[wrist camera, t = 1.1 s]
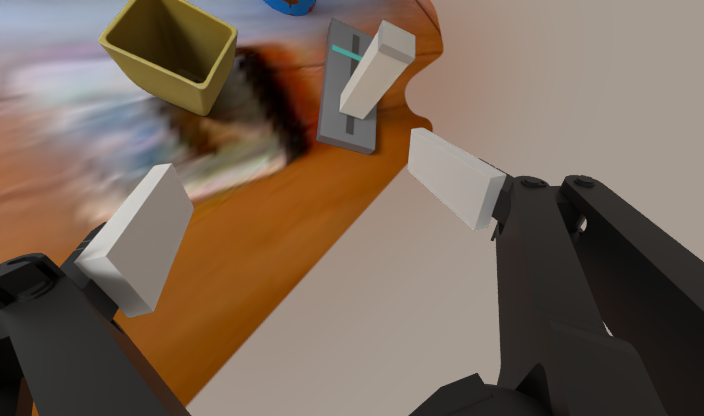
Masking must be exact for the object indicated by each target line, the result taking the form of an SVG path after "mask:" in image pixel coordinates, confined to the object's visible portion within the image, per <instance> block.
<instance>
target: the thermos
mask: <svg viewBox="0 0 704 416" xmlns="http://www.w3.org/2000/svg"><path fill="white" fill-rule="evenodd" d="M264 1H265V2H266V3H267V4H268V5H270V6H271V7H272V8H274V9H276V10H278V11H280V12H282V13H284V14H289V15H293V16H299V15H305V14H307V13H309V12H310V11H312V9H313V7H314V5H315V2H316V0H264Z"/></svg>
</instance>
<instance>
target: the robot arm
mask: <svg viewBox="0 0 704 416" xmlns="http://www.w3.org/2000/svg"><path fill="white" fill-rule="evenodd" d="M408 171H409V172H410V173H411V174H412V175H413V176H414V177H416V178H417V179H418V180H419V181H420V182H421V183H422V184H423V185H424V186H426V187H427V188H428V189H429V190H430V191H431V192H432V193H433V194H434V195H435V196H436V197H437V198H439V199H440V200H441V201H442V202H443V203H444V204H445V205H446V206H447V207H448V208H449V209H451V210H452V211H453V212H454V213H455V214H456V215H457V216H458V217H459V218H461V219H462V220H463V221H464V222H465V223H466V224H467V225H468V226H469V227H470V228H471V229H473V230H474V231H475V230H479V229H483V228H487V227H488V226H489V223H490V220H491V217H493V218H495V219H496V220H497V221H498V222H497V225H496V228H495V231H494V233H493V236H492V238H491V241H494V238H496V256H497V279H498V304H499V326H500V327H499V328H500V351H501V369H500V374H499V378H498V383H497V385H491V384H484V382H483V381H482V379H481V378H480V376H479V375H478V373H475V374H473V375H471V376H468V377H465V378H463V379H460V380H458V381H455V382H453V383H450V384H448V385H445V386H442V387H440V388H439V389H438V390H437V391H436V392H435V393H434V394H433V395H431V396H430V397H429V398H428V399H427V400H426V401H425V402H424V403H422V404H421V405H420V406H419V407H418V408H417V409H416V410H414V412H412V413H411V414H410V415H409V416H667V415H668V416H704V262H703V261H702V260H700V259H699V258H698V257H696V256H695V255H694V254H692V253H691V252H690V251H689V250H687V249H686V248H685V247H684V246H682V245H681V244H680V243H678V242H677V241H676V240H675V239H673V238H672V237H671V236H669V235H668V234H667V233H665V232H664V231H663V230H662V229H660V228H659V227H658V226H657V225H655V224H654V223H653V222H651V221H650V220H649V219H648V218H646V217H645V216H644V215H642V214H641V213H640V212H639V211H637V210H636V209H635V208H633V207H632V206H631V205H630V204H628V203H627V202H626V201H624V200H623V199H622V198H621V197H619V196H618V195H617V194H616V193H614V192H613V191H612V190H610V189H609V188H608V187H607V186H605V185H604V184H603V183H601V182H599V181H598V180H595V179H592V178H591V177H588V176H587V177H586V176H583V175H581V176H578V175H570V176H567V177H565V179H564V181H563V183H562V185H561V186H549V184H548V183H547V182H545V181H543V180H541V179H538V178H535V177H530V176H519V177H516V178H514V177H512V176H510V175H509V174H507V173H505V172H503V171H501V170H500V169H498V168H495V167H494V166H492V165H490V164H489V163H487V162H485V161H483V160H482V159H479V158H476V157H474V156H472V155H471V154H469V153H467V152H465V151H464V150H462V149H460V148H458V147H457V146H454V145H453V144H451V143H449V142H448V141H446V140H444V139H442V138H441V137H439V136H437V135H435V134H433V133H432V132H430V131H428V130H426V129H425V128H416V129H411V139H410V150H409V160H408ZM193 210H194V207H193V205H192V203H191V201H190V199H189V197H188V195H187V193H186V191H185V189H184V187H183V185H182V183H181V181H180V179H179V177H178V175H177V173H176V171H175V169H174V167H173V165H172V163H170V164H163V165H156V166H154V167H153V168H152V169H151V170H150V172H149V173H148V174H147V175H146V176H145V178H144V179H143V180H142V181H141V182H140V184H139V185H138V186H137V187H136V188H135V190H134V191H133V192H132V193H131V194H130V196H129V197H128V198H127V199H126V200H125V202H124V203H123V204H122V205H121V206H120V208H119V209H118V210H117V211H116V212H115V214H114V215H113V216H112V217H111V218H110V220H109V221H108V222H104V223H103V224H101V225H100V226H98V227H97V228H95V229H94V230H93V231H91V232H90V233H89V235H88V236H87V237H86V238H85V239H84V240H83V242H82V243H81V244H80V245H79V246H78V247H77V248H76V249H77V250H75V251H74V252H73V253H72V254H71V255H70V256H69V257H68V258H67V260H66V261H65V262H64V263H63V264H62V265H61V266H60V268H59V267H58V266H57V265H56V264H55V263H54V262H52V261H51V260H50V259H49V258H48V257H47V256H46V255H44V254H42V253H31V254H27V255H23V256H19V257H16V258H14V259H11V260H8V261H6V262H4V263H2V264H0V416H32V407H33V400H34V403H35V406H36V408H37V411H38V414H39V416H191V415H190V414H189V412H188V411H187V410H186V408H185V407H184V406H183V405H182V403H181V402H180V401H179V400H178V398H177V397H176V396H175V395H174V393H173V392H172V391H171V390H170V388H169V387H168V386H167V385H166V383H165V382H164V381H163V380H162V378H161V377H160V376H159V374H158V373H157V372H156V371H155V369H154V368H153V367H152V366H151V364H150V363H149V362H148V361H147V359H146V358H145V357H144V356H143V354H142V353H141V352H140V351H139V349H138V348H137V347H136V346H135V344H134V343H133V342H132V341H131V339H130V338H129V337H128V335H127V334H126V333H125V332H124V330H123V329H122V328H121V327H120V325H119V324H118V323H117V322H116V321H115V320H114V319H113V317H114V315H115V313H116V312H117V310H118V308H119V309H120V310H121V311H122V312H123V313H124V314H125V315H126V316H127V317H128V318H131V317H135V316H139V315H143V314H147V313H151V312H154V309H155V307H156V304H157V302H158V299H159V297H160V294H161V292H162V289H163V287H164V284H165V281H166V279H167V276H168V274H169V271H170V269H171V266H172V264H173V261H174V259H175V256H176V254H177V251H178V248H179V246H180V243H181V241H182V238H183V236H184V233H185V231H186V228H187V226H188V223H189V221H190V218H191V215H192V213H193ZM585 219H586V220H587V226H586V229H585V230H584V231H583V230H582V229H581V228H580V227H581V225H582V224H583V222H584V221H585ZM603 322H604V323H605V325H606V326H607V327H608V329H609V330H610V332H611V333H612V335H613V336H614V337H613V336H610V335H609V334H608V332H607V331H606V328H605V325H604V323H603Z"/></svg>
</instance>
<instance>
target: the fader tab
mask: <svg viewBox="0 0 704 416" xmlns="http://www.w3.org/2000/svg"><path fill="white" fill-rule="evenodd" d="M414 59H415V35H413V34H411V33H409V32H407V31H405V30H403V29H401V28H399V27H397V26H395V25H393V24H391V23H389V22H387V21H385V20H383V21H382V23H381V24H380V26H379V30H378V32H377V34H376V35H375V37H374V39H373V41H372V42H371V44H370V46H369V47H368V49H367V51H366V53H365V54H364V56H363V58H362V59H361V61H360V63H359V65H358V66H357V68H356V70H355V71H354V73H353V75H352V77H351V78H350V80H349V82H348V83H347V85H346V87H345V89H344V90H343V92H342V94H341V97H340V109H339V112H341V113H344V114H348V115H351V116H354V117H357V118H360V119H364V118H365V116H366V115H367V114H368V113H369V112H370V110H371V109H372V108H373V107H374V106H375V104H376V103H377V102H378V101H379V100H380V98H381V97H382V96H383V95H384V94H385V92H386V91H387V90H388V89H389V88H390V86H391V85H392V84H393V83H394V82H395V80H396V79H397V78H398V77H399V75H400V74H401V73H402V72H403V71H404V69H405V68H406V67H407V66H408V65H410V64H411V63H412V62H413V61H414Z"/></svg>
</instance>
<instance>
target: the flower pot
mask: <svg viewBox="0 0 704 416" xmlns="http://www.w3.org/2000/svg"><path fill="white" fill-rule="evenodd" d="M237 35H238V31H237V29H236V28H235V27H233V26H232V25H230V24H228V23H226V22H224V21H222V20H220V19H219V18H217V17H215V16H213V15H211V14H209V13H207V12H205V11H204V10H202V9H200V8H198V7H196V6H194V5H192V4H191V3H189V2H187V1H185V0H129V2H128V3H127V4H126V5H125V6H124V8H123V9H122V10H121V11H120V13H119V14H118V15H117V16H116V17H115V18H114V20H113V21H112V22H111V23H110V24H109V26H108V27H107V28H106V29H105V30H104V32H103V33H102V35H101V36H100V38H99V43H100V44H101V45H102V46H103V48H104V49H105V50H106V51H107V52H108V54H109V55H110V56H111V57H112V58H113V60H114V61H115V62H116V63H117V65H118V66H119V67H120V68H121V69H122V71H123V72H124V73H125V74H126V75H127V76H128V78H129V79H130V80H132V81H133V82H134V83H135V84H136V85H137V86H139V87H140V88H142V89H143V90H145V91H146V92H148V93H150V94H152V95H154V96H156V97H158V98H160V99H162V100H165V101H167V102H170V103H172V104H174V105H177V106H179V107H182V108H184V109H186V110H189V111H191V112H193V113H196V114H198V115H201V116H206V115H208V113H209V112H210V110H211V108H212V106H213V104H214V102H215V100H216V98H217V96H218V95H219V93H220V91H221V89H222V87H223V85H224V84H225V82H226V80H227V78H228V76H229V75H230V72H231V70H232V67H233V62H234V56H235V49H236V42H237ZM195 81H198V82H199V84H198V83H194V82H195Z"/></svg>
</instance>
